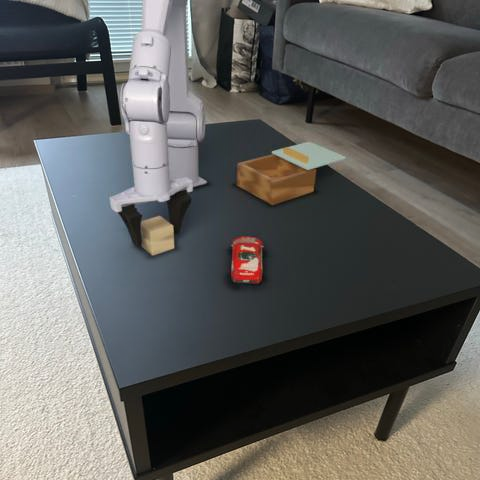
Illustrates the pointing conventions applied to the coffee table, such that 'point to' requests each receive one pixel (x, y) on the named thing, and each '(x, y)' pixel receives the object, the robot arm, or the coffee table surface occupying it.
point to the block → (157, 235)
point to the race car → (247, 260)
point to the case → (274, 179)
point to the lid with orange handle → (308, 155)
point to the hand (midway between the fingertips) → (156, 238)
